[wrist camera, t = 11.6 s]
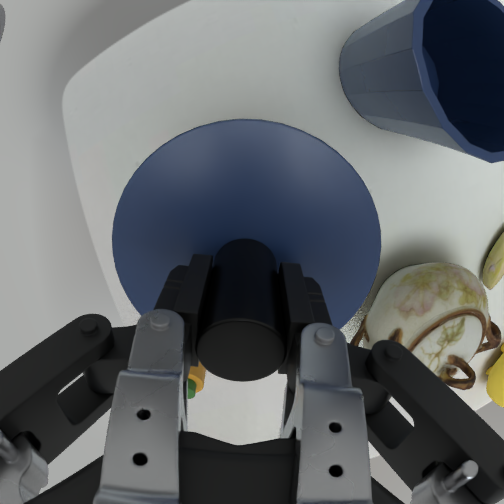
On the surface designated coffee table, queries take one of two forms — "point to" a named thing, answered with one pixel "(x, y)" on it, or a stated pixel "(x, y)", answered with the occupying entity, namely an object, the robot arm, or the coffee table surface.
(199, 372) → the yellow and green cylinder
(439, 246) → the coffee table surface
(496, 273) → the fruit
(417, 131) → the pot
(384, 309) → the sugar bowl
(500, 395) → the teapot
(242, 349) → the lid
